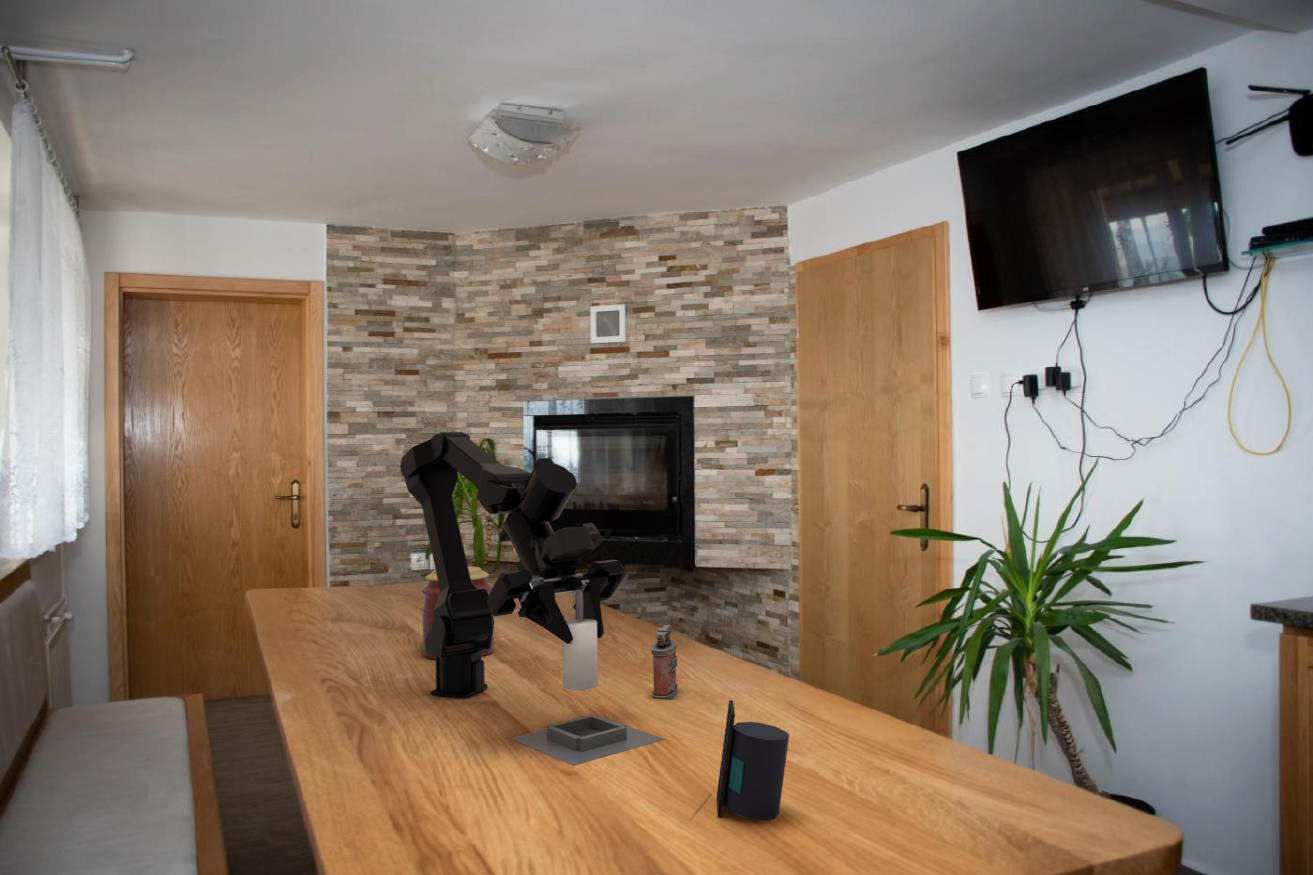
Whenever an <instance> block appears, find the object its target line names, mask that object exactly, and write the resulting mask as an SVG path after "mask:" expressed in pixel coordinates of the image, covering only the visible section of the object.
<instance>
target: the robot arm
mask: <svg viewBox="0 0 1313 875" xmlns="http://www.w3.org/2000/svg"><path fill="white" fill-rule="evenodd" d="M399 467H400V472H401V475H402V477H403V479H404V481H405V486H406V489H407V491H408V493H409V494H410V495H411V496H412V497H413V498H414V499H415V500H416V501H417V502H418V503H419V504H420V505H421V508H422V513H423V518H424V522H425V526H426V531H427V535H428V536H427V537H428V541H429V545H430V549H431V551H430V552H431V554H432V559H433V560H432V561H433V563H434V570H435V569H436V574H437V579H438V583H439V588H440V594H439V597H438V600H437V602H436V605H435V608H434V620H435V621H434V623H433V625H432V627H431V628H430V630H429V632H428V634H427V636H426V638H425V645H426V651H427V653H428V654H431V655H434V656H436V659H435V688H434V689H432V690H430V692H429V694H430V696H442V697H452V698H453V697H456V698H469V697H471V696H473V695H475V694H477V693H480V692H481V691H483V690H485V689H488V684H487V683H485V660H483V659H482V657H483V656H481V650H485V649H486V650H488V649H490V645H491V640H492V634H493V635H494V628H495V620H494V619H495V617H500V616H508V615H512V614H513V613H514V611H515V610H516V608H517V603H516V601H515V599H518V602H520V603H519V604H520V608H519V610H518V611H517V616H518V617H519V618H526V619H527V620H530V621H532V623H534V624H536V625H538V626H539V627H541V628H543V629H545V631H548V632H549V633H550V634H552V635H553V636H555V637H557V638H558V639H559V640H561V641H564V642H565V643H567V644H570V643H571V642H572V640H573V637H572V634H571V631H570V629H569V627H568V625H567V623H566V621H567V620H566V619H565V616H564V615H563V612H562V611H561V609H560V607H559V605H558V603H557V601H556V595H560V594H566V593H572V594H573V596H574V597H575V593H576V592H577V591H582V592H583V619H591V620H596V621H597V639H601V638H602V637H603V636H604V634H605V630H604V623H603V617H602V616H603V615H602V610H601V609H602V607H601V601H606V600H608V599H610V598H611V597H612V596H613V594H614V593H615V592H616V590H617V589H618V588H619V585H620V584H621V583H622V581H623V579H624V578H625V577H626V575H627V574H628V573H627V571H626V570H625V568H624V565H623V564H622V562H621V561H620V560H616V559H609V560H601V561H600V560H599V561H593V563H592V564H591V566H590V567H589V569H588V570H587V572H586V573H584V574H583V573H582V572H581V573H577V572H576V570H577V569H580V568H581V566H582V565H583V560H582V559H581V558H582V557H584V556H585V555H587V554H588V553H592V552H594V551H595V549H596V548H598V547H599V546H601V544H602V536H601V533H600V531H599V529H598V528H597V527H596V525H595V523H594V522H589V523H582V525H581V526H574V527H573V526H572V527H564V528H560V529H558V530H556V531H554V529H553V528H552V526H551V524H550V522H553V521H556V520H558V518H560V516H561V515H562V512H563V510H564V509H565V507H566V506H567V503H569V500H570V498H571V496H572V494H573V493H574V491H575V490H576V487H577V485H578V484H577V478H576V476H575V474H573V472H571V471H569V470H568V469H566V467H564V466H562V465H561V464H558V463H556V462H555V463H554V461H553V459H552V458H551V457H539V458H537V459H536V461H535V463H534V465H533V469H532V471H531V472H530V471H527V470H524V469H522V468H520V467H516V466H510V465H506V464H503V463H501V462H499V461H498V460H497V459H496V458H495V457H493V456H492V455H491V454H490V453H488V451H486V450H485V449H483V448H482V447H481V446H479V445H478V444H476V442H474V441H473V440H471V437H470V435H469V434H468V433H465V432H463V431H441V432H440V431H439V432H438V433H436V434H434V435H433V436H432V437H431V438H430V439H427V440H425V441H423V442H421V443H418V444H416V445H414V446H412V447H411V448H410V449H409V450H408V451H407V452H406V453H405V454H404V455H403V456H402V458H401V460H400V466H399ZM459 474H460V475H461V476H463V477H464V478H465V479H466V480H467V481H468V482H470V483H471V484H472V485H473V486H474V487H475V488H476V490H477V494H476V498H477V500H478V502H479V503H480V504H481V506H482V507H483V508H484V509H485V511H486V512H487V513H488V514H490V515H500V514H507V517H506V518H505V519H504V521H503V522H502V526H501V530H500V531H499V538H498V539H499V542H511V545H512V547H513V548H514V550H515V553H516V554H517V556H518V558H519V561H518V562H517V563H516V564H517V565H516V568H517V570H514V571H507V572H500V574H499V576H498V578H497V580H496V581H495V583H494V584H493V585H492V586H493V588H492V590H491V592H490V594H489V596H488V593H487V591H486V590H485V589H484V588H483V589H478V588H477V587H476V586H475V585H474V584H473V583H472V581H471V577H470V573H469V569H468V566H469V565H468V560H467V556H466V552H465V551H466V550H465V547H464V542H463V539H462V533H461V529H460V525H459V520H458V517H457V512H456V508H455V504H454V503H455V502H454V499H453V495H454V492H455V489H456V486H457V484H458V482H459ZM572 608H573V610H575V603H574V604H573V606H572Z"/></svg>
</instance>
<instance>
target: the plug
mask: <svg viewBox="0 0 1313 875" xmlns="http://www.w3.org/2000/svg"><path fill="white" fill-rule="evenodd" d="M574 599H575V600H574V604H575V609H574V611H575V614H574V616H575V619H568V620H567V619H566V620H565V621H566V623H567V625H568V627H569V629H570V631H571V634H572V637H573V640H572V642H571V643H570V644H567V643H565V642H564V641H562V640H561V641H562V644H561V646H562V686H563V688H564V689H566V690H569V691H570V690H572V691H583V690H584V691H585V690H586V691H587V690H590V689H594V688H597V687H598V686H599V674H598V673H599V667H598V665H599V664H598V662H599V661H598V660H599V659H598V658H599V657H598V638H597V621H596V620H591V619H583V592H582V591H577V592H576V593H575V596H574Z"/></svg>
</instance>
